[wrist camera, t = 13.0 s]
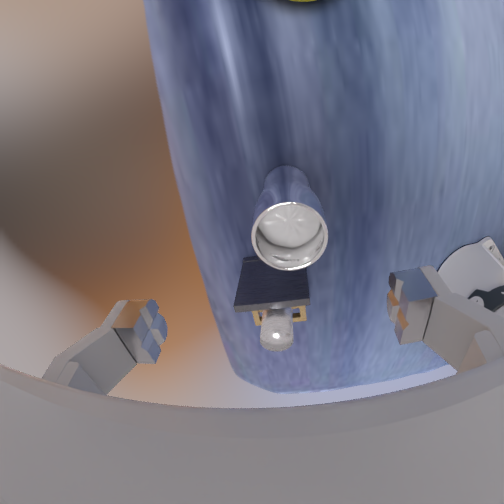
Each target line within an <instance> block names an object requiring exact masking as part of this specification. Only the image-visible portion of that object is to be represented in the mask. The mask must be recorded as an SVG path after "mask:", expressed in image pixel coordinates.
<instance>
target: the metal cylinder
mask: <svg viewBox="0 0 504 504" xmlns="http://www.w3.org/2000/svg"><path fill="white" fill-rule="evenodd" d="M260 343H261V345H262V346H263V347H264V348H266V349H267V350H270V351H283V350H286V349H288V348H289V347H290V346H291V345H292V343H293V318H292V307H288V308H278V309H268V310H263V313H262V325H261V336H260Z"/></svg>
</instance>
